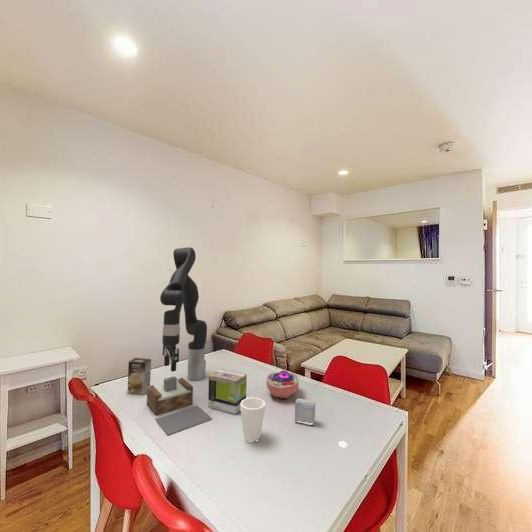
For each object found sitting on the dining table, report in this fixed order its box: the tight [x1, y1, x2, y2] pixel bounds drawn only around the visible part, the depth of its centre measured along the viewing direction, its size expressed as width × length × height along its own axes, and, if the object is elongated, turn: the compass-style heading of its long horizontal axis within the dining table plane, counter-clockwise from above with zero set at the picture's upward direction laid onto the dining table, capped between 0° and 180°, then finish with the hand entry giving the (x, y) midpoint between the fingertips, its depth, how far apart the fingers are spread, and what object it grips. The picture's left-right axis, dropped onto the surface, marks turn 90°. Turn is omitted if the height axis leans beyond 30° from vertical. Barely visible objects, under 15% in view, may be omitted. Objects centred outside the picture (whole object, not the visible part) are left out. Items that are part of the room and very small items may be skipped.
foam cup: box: [240, 397, 266, 442], centre depth 107 cm, size 10×9×13 cm
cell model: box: [265, 369, 300, 399], centre depth 143 cm, size 17×20×11 cm
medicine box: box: [294, 398, 316, 424], centre depth 119 cm, size 8×4×9 cm, turn 71°
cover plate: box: [155, 376, 191, 401], centre depth 130 cm, size 15×12×6 cm
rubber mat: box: [154, 405, 213, 437], centre depth 118 cm, size 19×14×1 cm
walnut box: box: [146, 377, 194, 417], centre depth 130 cm, size 17×12×8 cm
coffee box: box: [127, 357, 152, 396], centre depth 143 cm, size 9×6×16 cm
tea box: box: [207, 369, 247, 415], centre depth 130 cm, size 15×10×15 cm, turn 65°
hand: (170, 368), depth 130 cm, fingers open, 8 cm apart
